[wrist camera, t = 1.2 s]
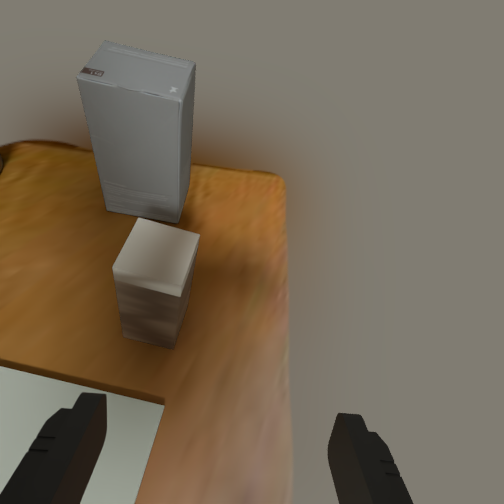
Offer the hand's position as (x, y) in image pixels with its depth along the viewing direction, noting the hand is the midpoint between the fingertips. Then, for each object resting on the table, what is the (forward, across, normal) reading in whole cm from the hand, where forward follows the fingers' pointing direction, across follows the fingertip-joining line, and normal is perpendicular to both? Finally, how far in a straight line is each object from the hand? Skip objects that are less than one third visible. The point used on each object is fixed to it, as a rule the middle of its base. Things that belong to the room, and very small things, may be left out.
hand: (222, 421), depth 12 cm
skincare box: (+31, +10, +1) cm, 33 cm away
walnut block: (+19, +6, +9) cm, 21 cm away
